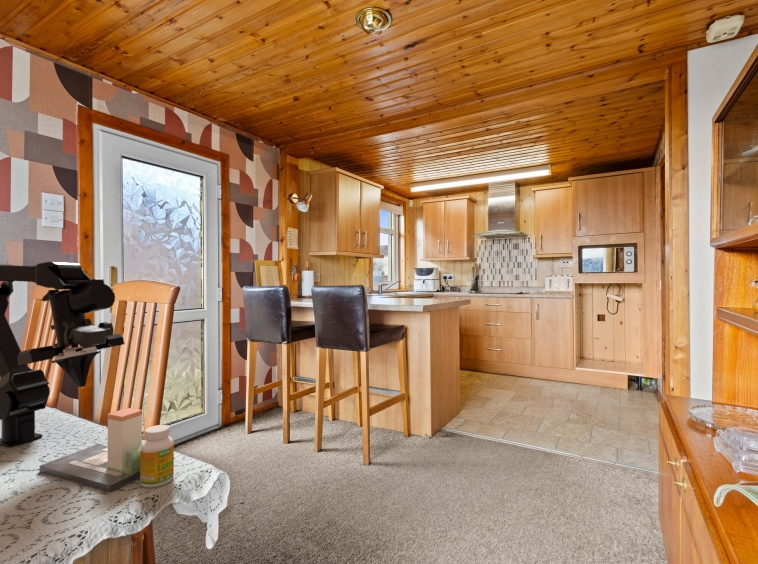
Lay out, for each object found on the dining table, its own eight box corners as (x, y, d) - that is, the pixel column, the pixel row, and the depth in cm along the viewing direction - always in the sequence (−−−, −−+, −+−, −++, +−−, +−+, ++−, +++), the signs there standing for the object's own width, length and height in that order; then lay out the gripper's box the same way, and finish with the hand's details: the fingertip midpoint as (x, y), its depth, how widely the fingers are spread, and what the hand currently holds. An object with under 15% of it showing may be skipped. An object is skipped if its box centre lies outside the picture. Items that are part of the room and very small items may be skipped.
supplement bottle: (158, 490, 70) (159, 435, 70) (132, 486, 71) (133, 432, 71) (180, 475, 75) (180, 424, 75) (155, 472, 77) (155, 422, 77)
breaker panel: (39, 471, 77) (39, 445, 77) (97, 449, 87) (97, 425, 87) (110, 492, 69) (110, 462, 69) (164, 465, 79) (164, 439, 79)
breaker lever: (107, 466, 76) (107, 414, 76) (127, 457, 80) (127, 407, 80) (121, 470, 75) (122, 416, 75) (141, 461, 78) (142, 410, 78)
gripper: (41, 317, 76) (55, 397, 76) (133, 306, 94) (145, 371, 93) (9, 326, 81) (23, 401, 80) (103, 314, 98) (115, 376, 97)
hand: (82, 386), depth 88 cm, fingers closed
